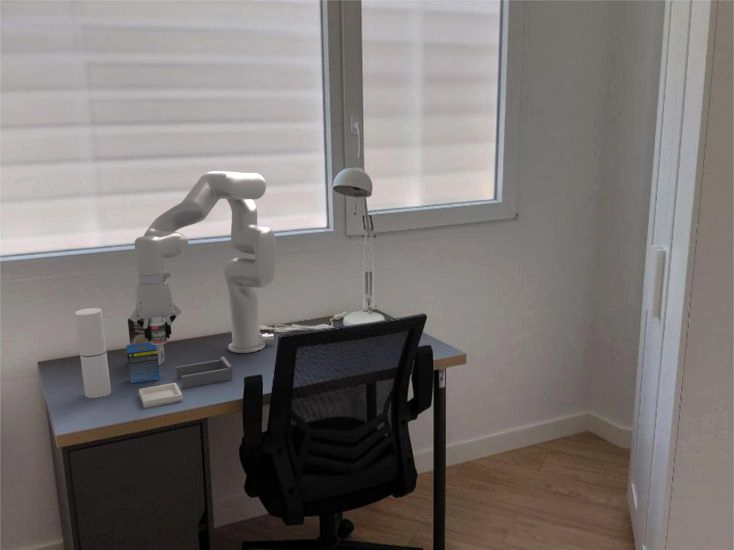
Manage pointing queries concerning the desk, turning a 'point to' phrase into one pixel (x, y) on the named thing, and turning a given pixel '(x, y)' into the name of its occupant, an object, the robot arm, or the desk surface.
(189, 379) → the bay
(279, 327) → the desk surface
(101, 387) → the cylindrical container
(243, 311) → the robot arm
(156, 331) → the pill bottle
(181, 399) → the tray
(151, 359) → the label tape cartridge
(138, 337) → the coffee box
